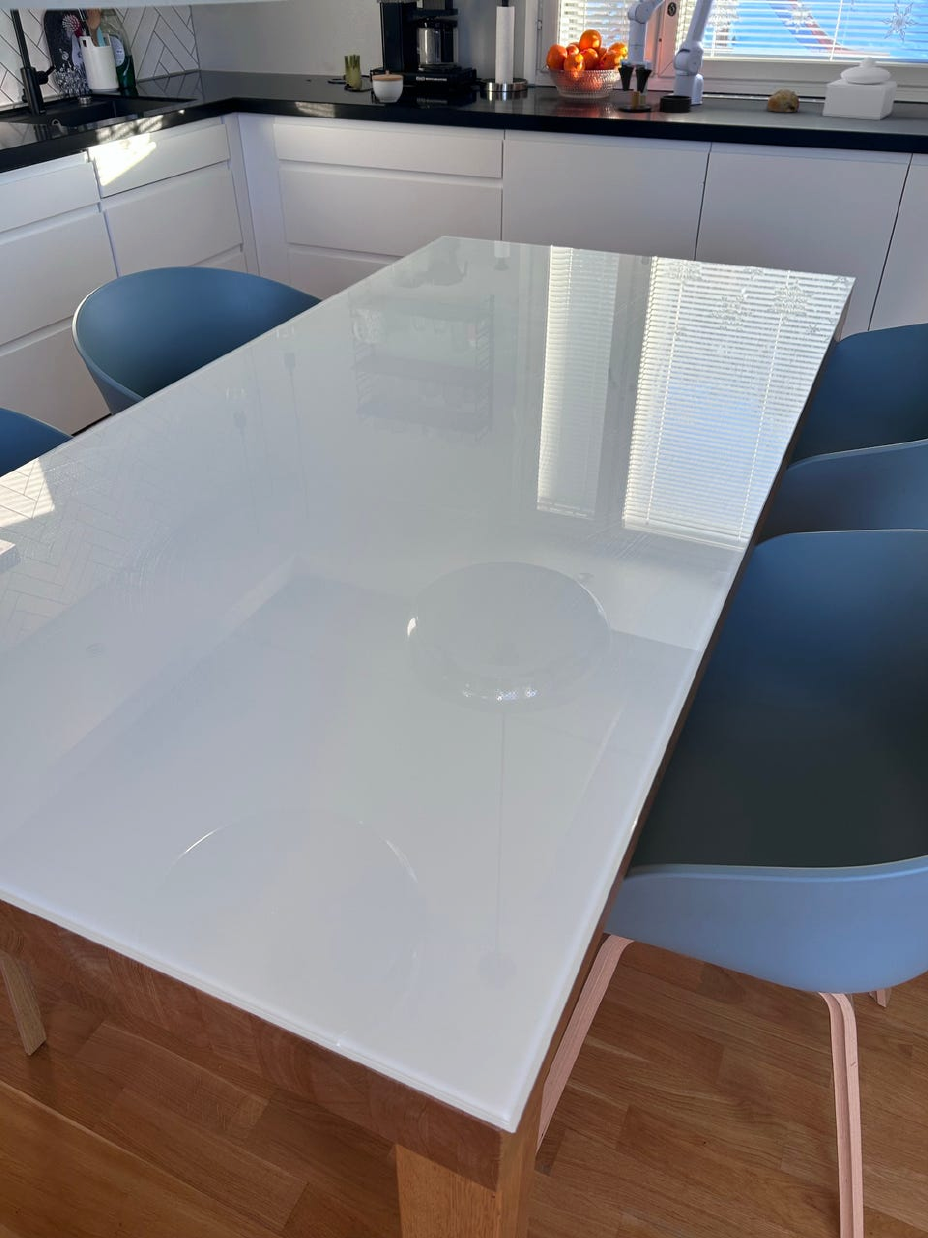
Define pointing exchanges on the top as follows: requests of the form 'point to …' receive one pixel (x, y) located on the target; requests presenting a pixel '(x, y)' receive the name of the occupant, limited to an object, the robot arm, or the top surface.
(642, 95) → the sprinkles bottle
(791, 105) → the bread roll
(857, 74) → the white lidded box
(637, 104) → the pan lid
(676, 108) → the pan
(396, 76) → the sugar bowl
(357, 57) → the fennel bulb
